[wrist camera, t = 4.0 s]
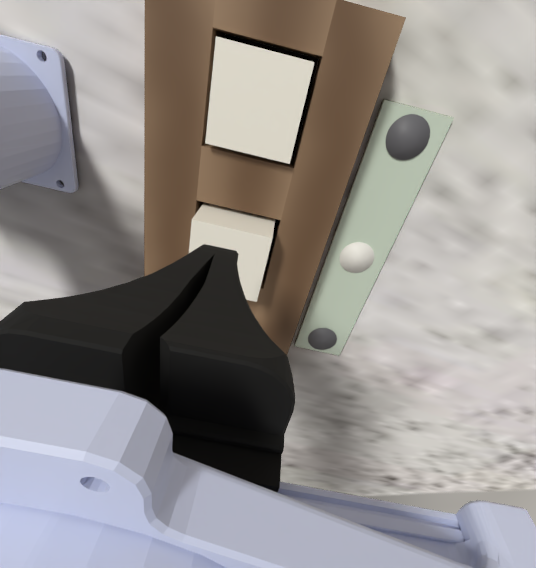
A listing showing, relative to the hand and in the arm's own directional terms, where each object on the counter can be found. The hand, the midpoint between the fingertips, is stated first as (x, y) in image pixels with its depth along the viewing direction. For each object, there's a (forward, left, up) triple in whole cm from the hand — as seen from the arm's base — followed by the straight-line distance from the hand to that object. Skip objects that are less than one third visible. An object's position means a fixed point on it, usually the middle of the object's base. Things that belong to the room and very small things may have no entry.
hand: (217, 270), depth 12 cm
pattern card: (+8, -3, -10) cm, 14 cm away
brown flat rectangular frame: (0, -3, -10) cm, 11 cm away
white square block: (0, +5, -10) cm, 11 cm away
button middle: (0, -3, -9) cm, 9 cm away
